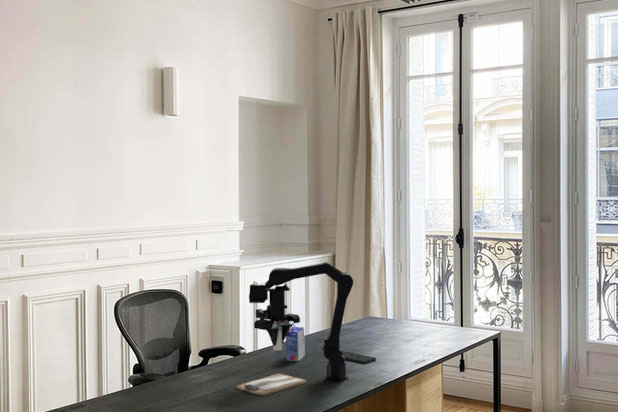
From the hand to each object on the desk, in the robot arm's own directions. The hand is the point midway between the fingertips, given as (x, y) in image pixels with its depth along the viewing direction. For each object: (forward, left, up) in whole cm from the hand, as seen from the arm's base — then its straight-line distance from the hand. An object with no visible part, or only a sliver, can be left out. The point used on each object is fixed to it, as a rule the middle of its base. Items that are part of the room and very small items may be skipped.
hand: (277, 344), depth 256 cm
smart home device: (-1, -42, -13) cm, 45 cm away
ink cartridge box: (+16, -27, -13) cm, 33 cm away
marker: (0, 0, -3) cm, 3 cm away
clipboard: (-4, +7, -13) cm, 15 cm away
